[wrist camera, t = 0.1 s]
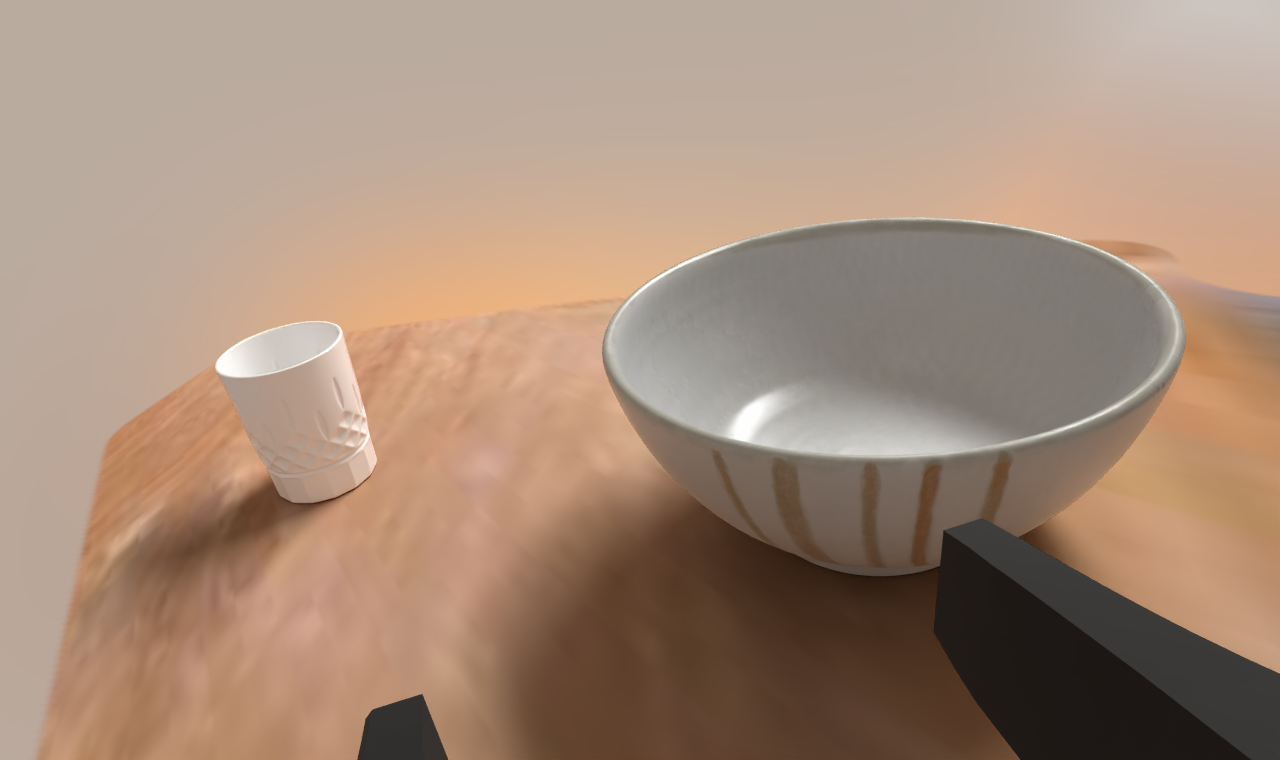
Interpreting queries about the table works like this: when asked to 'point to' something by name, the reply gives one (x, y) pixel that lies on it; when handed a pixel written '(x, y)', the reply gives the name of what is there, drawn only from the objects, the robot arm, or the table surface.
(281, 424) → the white cup
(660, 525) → the table surface
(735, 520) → the decorative bowl
